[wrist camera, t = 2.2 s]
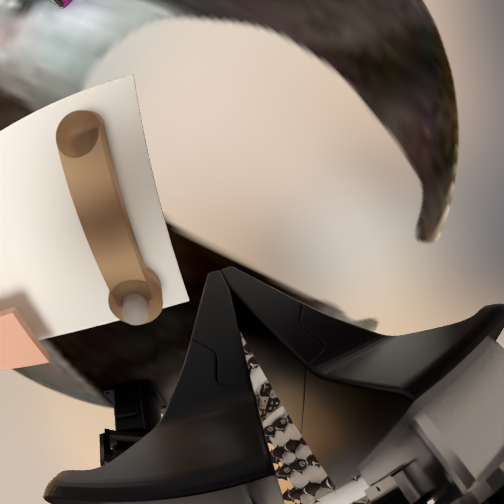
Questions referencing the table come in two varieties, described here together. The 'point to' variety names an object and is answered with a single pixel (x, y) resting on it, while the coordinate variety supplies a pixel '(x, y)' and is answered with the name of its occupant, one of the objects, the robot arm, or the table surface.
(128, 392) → the robot arm
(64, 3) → the candy bar box
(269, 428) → the decorative candle
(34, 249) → the board
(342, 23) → the table surface
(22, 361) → the plate
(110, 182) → the link
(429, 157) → the table surface
